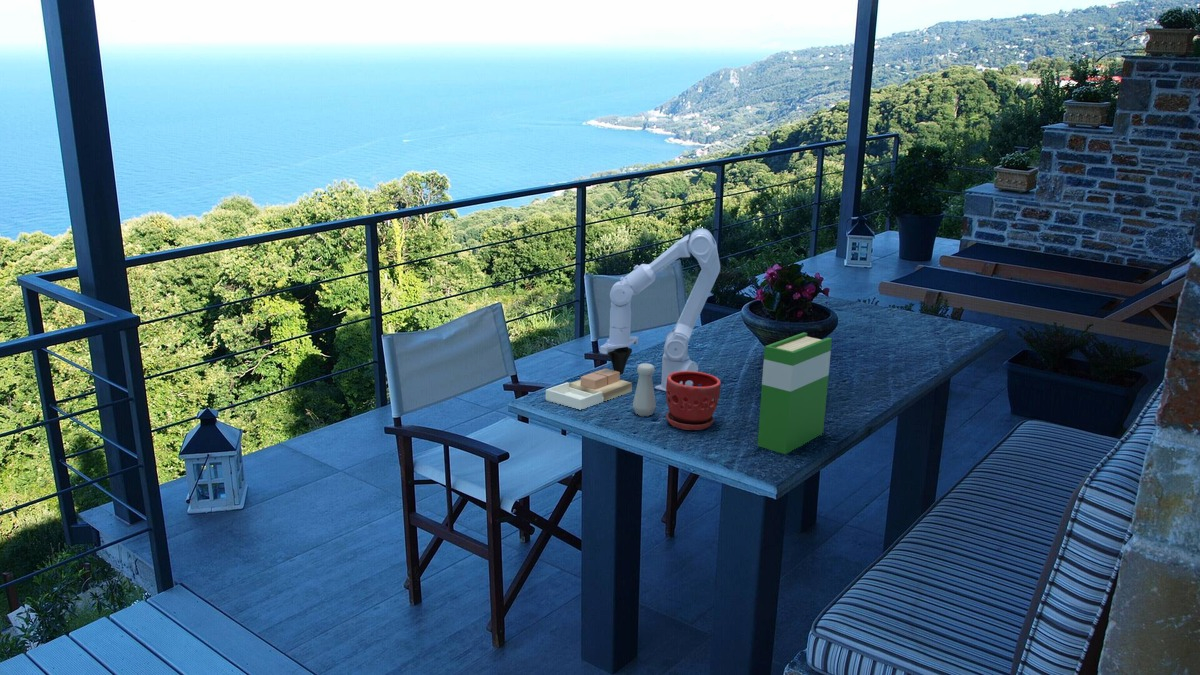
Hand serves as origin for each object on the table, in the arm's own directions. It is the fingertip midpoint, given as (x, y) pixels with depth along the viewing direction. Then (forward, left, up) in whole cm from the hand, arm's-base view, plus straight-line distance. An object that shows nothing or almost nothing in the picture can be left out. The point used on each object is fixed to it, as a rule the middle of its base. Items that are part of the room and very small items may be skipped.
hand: (618, 373), depth 258 cm
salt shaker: (-19, +14, -3) cm, 24 cm away
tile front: (0, +11, -1) cm, 11 cm away
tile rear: (0, +5, -1) cm, 5 cm away
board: (0, +8, -3) cm, 8 cm away
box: (0, +18, -3) cm, 19 cm away
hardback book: (-55, +4, -4) cm, 56 cm away
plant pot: (-32, +12, -4) cm, 34 cm away
